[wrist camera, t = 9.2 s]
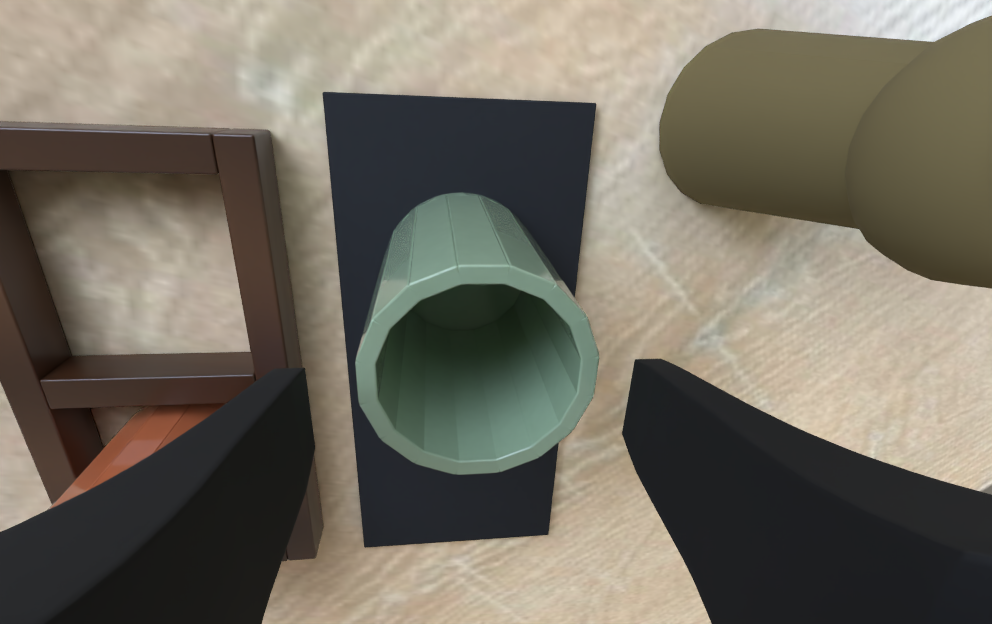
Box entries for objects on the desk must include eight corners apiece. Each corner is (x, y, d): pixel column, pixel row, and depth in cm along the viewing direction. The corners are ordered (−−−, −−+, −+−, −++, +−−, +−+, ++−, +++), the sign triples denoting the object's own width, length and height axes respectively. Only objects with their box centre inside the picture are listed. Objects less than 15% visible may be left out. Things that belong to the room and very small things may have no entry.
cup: (529, 332, 20) (584, 468, 13) (388, 335, 20) (364, 481, 12) (539, 193, 18) (613, 264, 11) (381, 191, 17) (346, 265, 10)
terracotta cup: (276, 498, 23) (222, 643, 17) (141, 505, 22) (35, 660, 16) (257, 392, 20) (186, 517, 14) (106, 397, 20) (-32, 530, 14)
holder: (324, 526, 24) (316, 559, 22) (106, 540, 22) (80, 576, 21) (271, 129, 16) (253, 134, 15) (-53, 119, 15) (-110, 123, 14)
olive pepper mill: (819, 179, 19) (1230, 274, 10) (671, 227, 20) (923, 373, 10) (817, 4, 17) (1375, -114, 7) (646, 61, 17) (954, 24, 7)
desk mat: (547, 530, 25) (548, 535, 25) (365, 542, 24) (364, 547, 24) (593, 103, 17) (596, 103, 17) (324, 91, 16) (322, 92, 16)
